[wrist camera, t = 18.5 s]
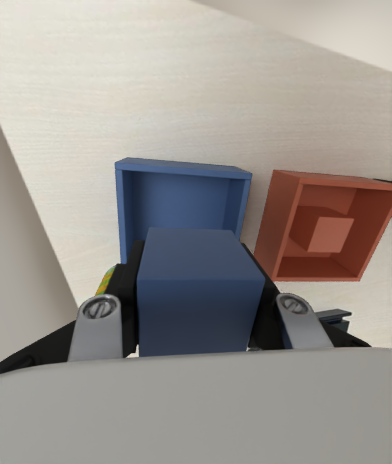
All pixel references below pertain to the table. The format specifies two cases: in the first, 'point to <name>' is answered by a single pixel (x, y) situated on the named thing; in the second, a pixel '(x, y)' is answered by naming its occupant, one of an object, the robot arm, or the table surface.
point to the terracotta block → (320, 229)
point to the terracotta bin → (334, 197)
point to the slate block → (195, 293)
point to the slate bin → (177, 198)
